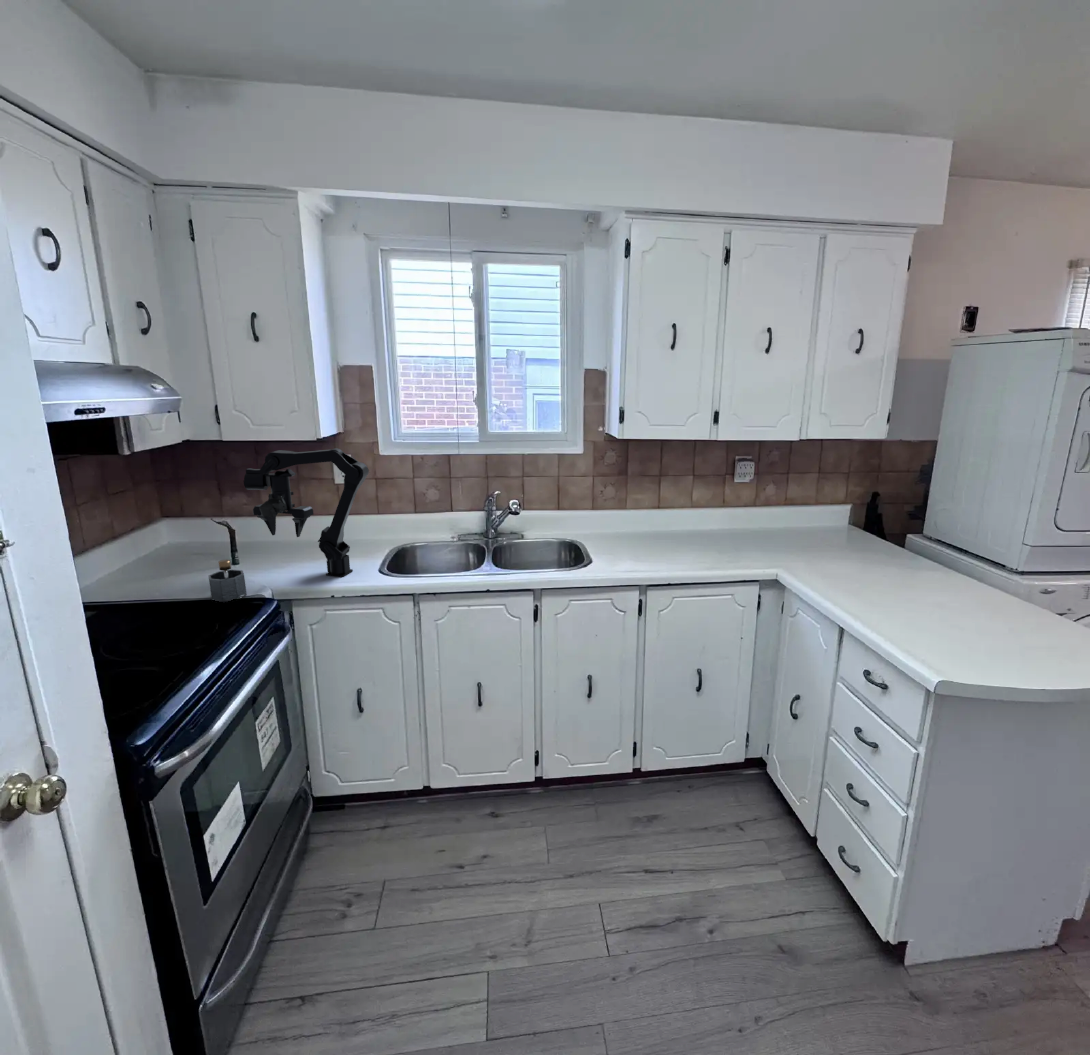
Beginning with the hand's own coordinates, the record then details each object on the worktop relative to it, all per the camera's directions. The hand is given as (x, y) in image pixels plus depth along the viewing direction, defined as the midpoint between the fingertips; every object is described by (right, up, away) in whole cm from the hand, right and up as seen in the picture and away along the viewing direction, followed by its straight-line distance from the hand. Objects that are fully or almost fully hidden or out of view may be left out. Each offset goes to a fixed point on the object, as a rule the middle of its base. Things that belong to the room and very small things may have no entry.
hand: (285, 536), depth 184 cm
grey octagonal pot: (-9, -18, -18) cm, 27 cm away
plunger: (-9, -17, -18) cm, 26 cm away
